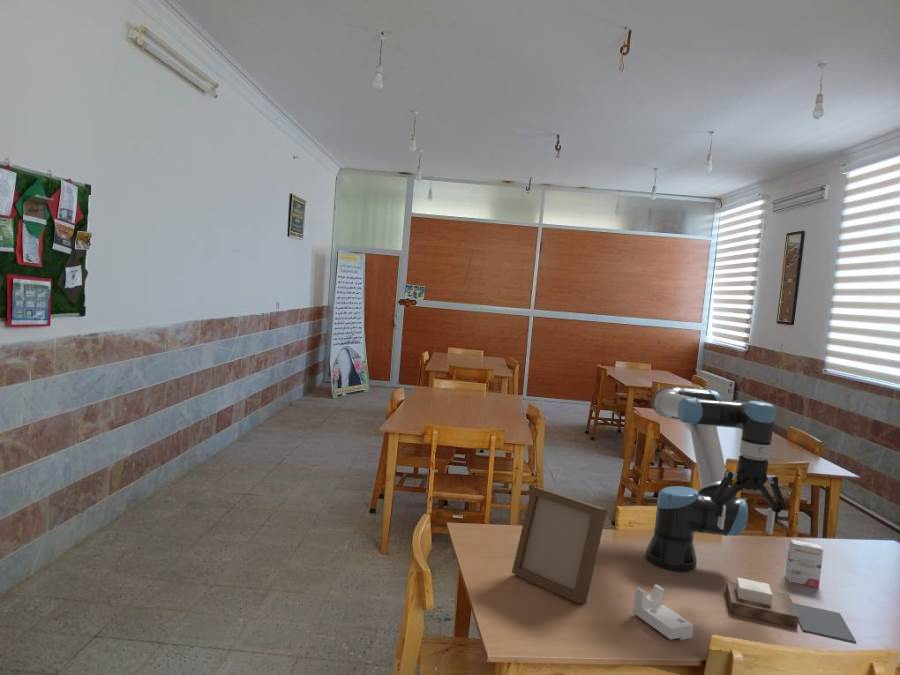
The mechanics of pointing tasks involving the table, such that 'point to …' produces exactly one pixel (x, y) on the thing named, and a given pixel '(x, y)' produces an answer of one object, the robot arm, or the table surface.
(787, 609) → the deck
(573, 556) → the photo frame
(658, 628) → the bracket
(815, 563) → the ink box
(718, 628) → the table surface
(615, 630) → the table surface
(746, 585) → the cream rectangular block
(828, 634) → the mat
